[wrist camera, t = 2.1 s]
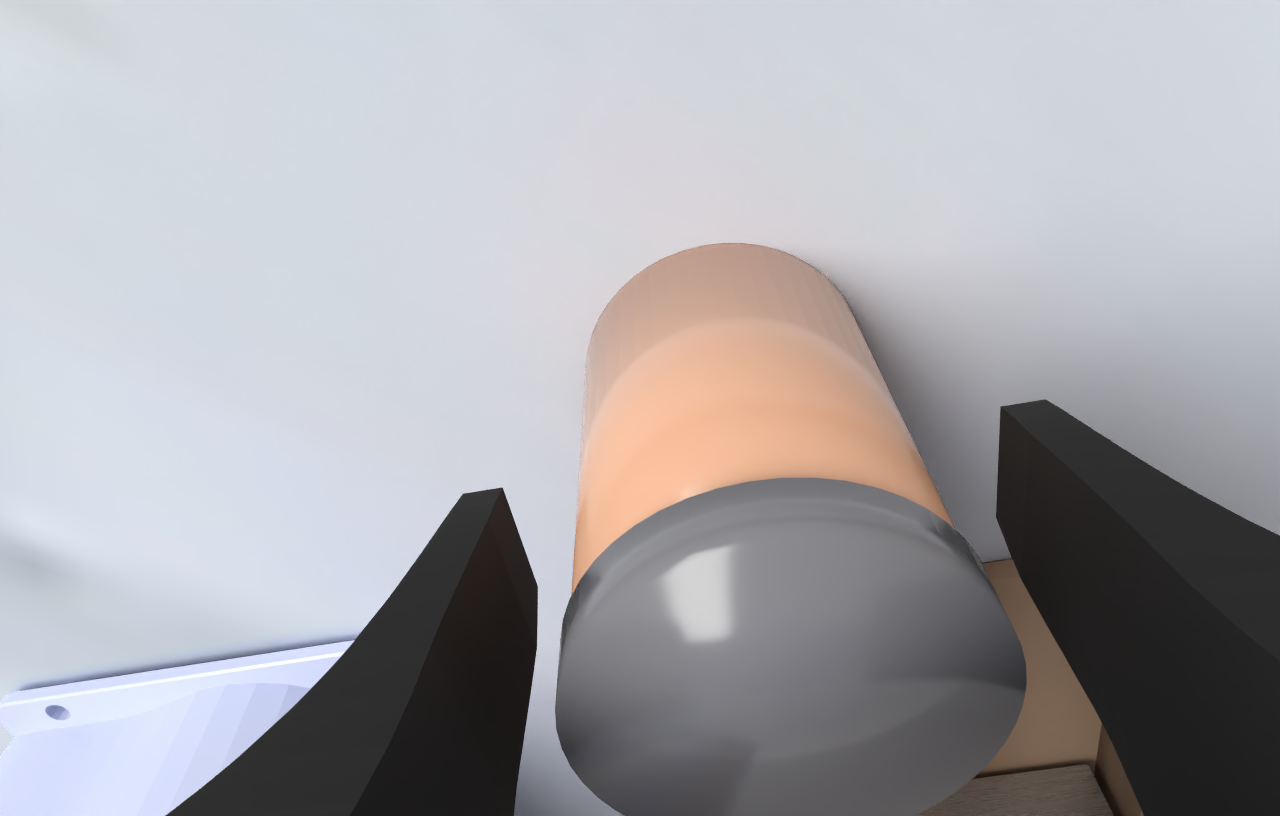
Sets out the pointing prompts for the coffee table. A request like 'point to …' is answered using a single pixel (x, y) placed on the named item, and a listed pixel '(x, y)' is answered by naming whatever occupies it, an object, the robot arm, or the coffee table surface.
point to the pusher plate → (1028, 795)
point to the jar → (766, 564)
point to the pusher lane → (1053, 706)
